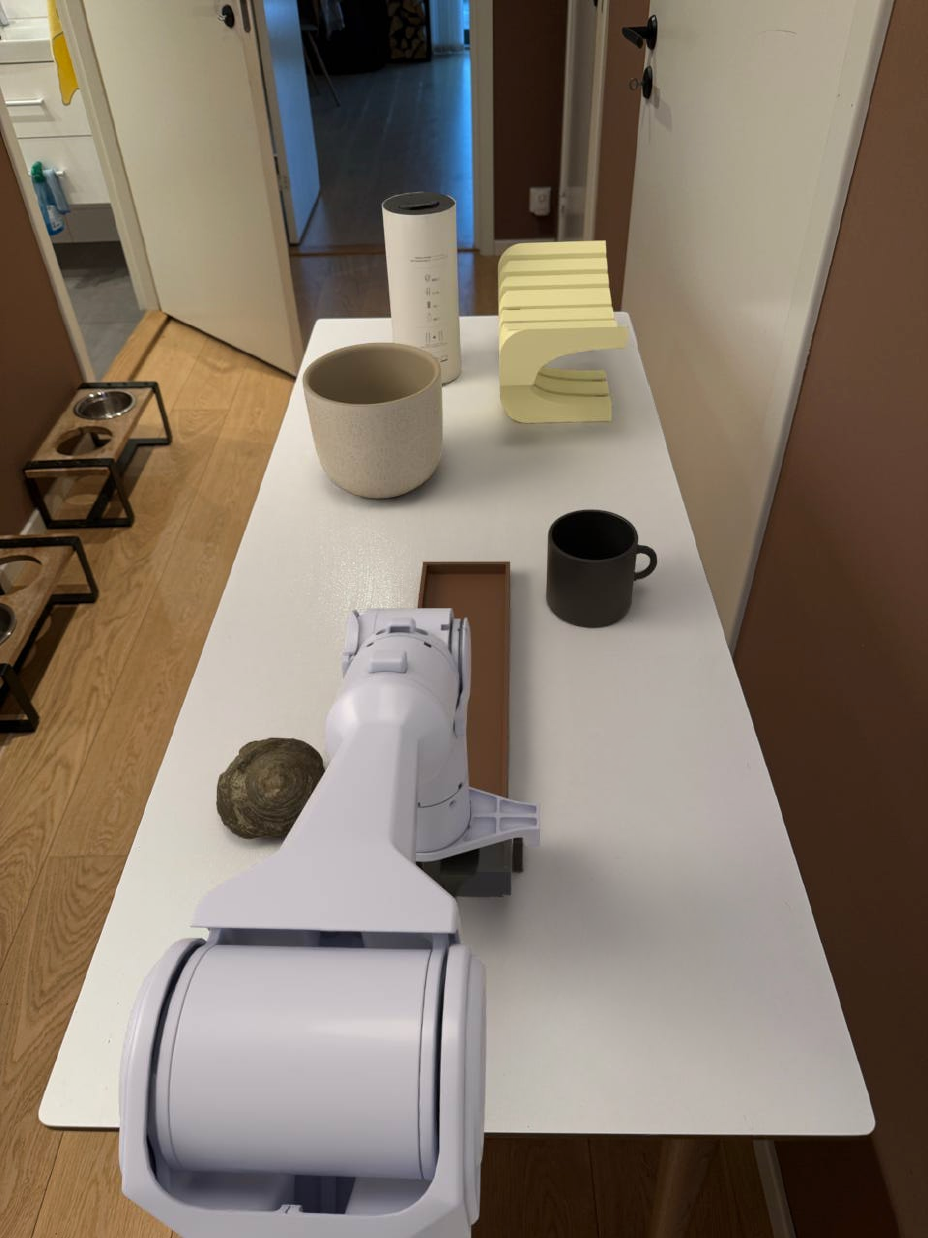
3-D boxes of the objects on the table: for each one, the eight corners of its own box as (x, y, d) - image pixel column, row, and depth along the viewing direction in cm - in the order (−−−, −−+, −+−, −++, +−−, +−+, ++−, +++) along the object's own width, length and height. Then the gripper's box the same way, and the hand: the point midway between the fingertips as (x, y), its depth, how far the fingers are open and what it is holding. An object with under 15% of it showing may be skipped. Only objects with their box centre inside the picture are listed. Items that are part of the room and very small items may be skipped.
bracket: (522, 872, 77) (522, 842, 74) (372, 869, 78) (367, 840, 75) (522, 848, 79) (522, 818, 76) (375, 845, 79) (370, 816, 77)
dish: (510, 945, 63) (510, 897, 62) (353, 942, 63) (350, 894, 62) (512, 835, 77) (511, 794, 76) (382, 833, 77) (381, 792, 76)
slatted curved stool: (499, 356, 149) (497, 243, 137) (598, 353, 148) (605, 240, 136) (500, 454, 126) (499, 329, 115) (617, 451, 126) (628, 326, 114)
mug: (663, 622, 99) (673, 556, 93) (553, 632, 99) (555, 565, 93) (643, 568, 107) (651, 503, 101) (540, 577, 106) (541, 512, 100)
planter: (407, 527, 114) (396, 417, 104) (294, 496, 121) (274, 389, 110) (469, 460, 125) (465, 355, 115) (363, 434, 132) (350, 333, 122)
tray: (507, 865, 78) (507, 851, 76) (388, 862, 78) (386, 849, 77) (510, 574, 107) (510, 561, 105) (424, 574, 107) (422, 561, 106)
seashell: (186, 839, 73) (311, 832, 73) (189, 693, 76) (310, 686, 76) (226, 844, 84) (335, 837, 84) (228, 716, 87) (333, 710, 87)
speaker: (460, 356, 149) (453, 185, 132) (465, 386, 141) (458, 208, 124) (395, 360, 149) (379, 189, 132) (396, 391, 141) (379, 213, 124)
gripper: (540, 721, 58) (536, 847, 67) (313, 719, 59) (340, 844, 68) (542, 812, 53) (538, 936, 62) (293, 809, 54) (325, 931, 63)
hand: (434, 894), depth 65 cm, fingers closed on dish, 2 cm apart
